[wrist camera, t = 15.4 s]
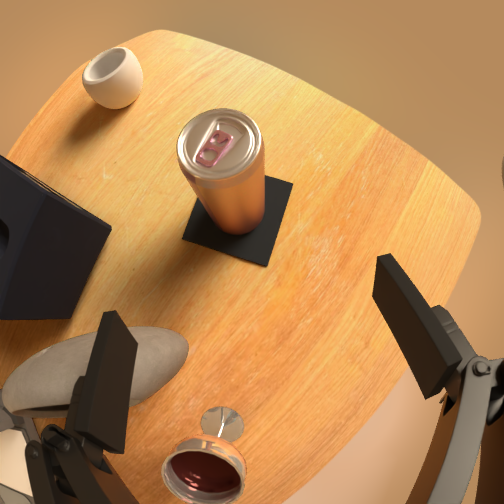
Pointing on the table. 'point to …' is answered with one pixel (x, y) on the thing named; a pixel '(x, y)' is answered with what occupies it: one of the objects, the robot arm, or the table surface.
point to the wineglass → (208, 461)
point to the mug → (113, 78)
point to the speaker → (43, 247)
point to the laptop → (15, 456)
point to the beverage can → (225, 167)
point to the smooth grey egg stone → (75, 364)
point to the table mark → (252, 243)
